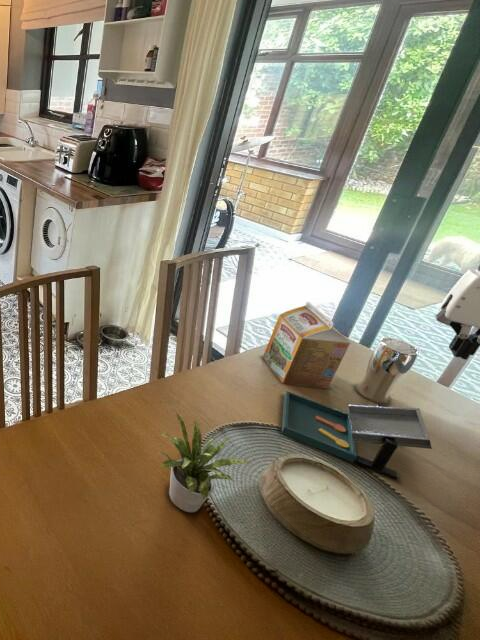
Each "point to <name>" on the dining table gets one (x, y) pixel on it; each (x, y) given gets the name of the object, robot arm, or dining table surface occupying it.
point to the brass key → (335, 439)
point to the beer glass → (387, 368)
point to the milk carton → (305, 347)
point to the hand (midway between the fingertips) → (458, 354)
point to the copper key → (332, 424)
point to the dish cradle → (381, 458)
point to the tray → (317, 425)
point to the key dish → (389, 425)
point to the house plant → (194, 470)
